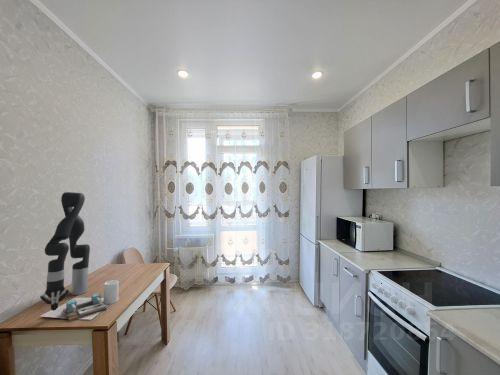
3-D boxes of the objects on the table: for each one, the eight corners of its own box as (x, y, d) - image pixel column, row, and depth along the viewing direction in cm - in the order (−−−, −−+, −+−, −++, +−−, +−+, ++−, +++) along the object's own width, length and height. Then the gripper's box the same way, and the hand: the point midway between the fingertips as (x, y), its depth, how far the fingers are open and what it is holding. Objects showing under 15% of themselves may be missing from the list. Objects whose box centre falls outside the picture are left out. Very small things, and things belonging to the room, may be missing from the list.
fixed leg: (91, 302, 145) (91, 294, 145) (98, 300, 148) (98, 292, 148) (96, 308, 139) (96, 299, 139) (103, 305, 142) (104, 297, 142)
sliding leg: (66, 310, 136) (66, 301, 136) (74, 307, 139) (74, 299, 139) (70, 316, 129) (70, 307, 129) (78, 313, 132) (79, 304, 132)
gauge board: (62, 311, 137) (63, 306, 137) (98, 301, 150) (98, 296, 151) (69, 321, 126) (69, 315, 126) (106, 309, 140) (106, 304, 140)
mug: (109, 296, 158) (109, 278, 159) (122, 295, 159) (123, 278, 160) (100, 304, 147) (101, 285, 147) (115, 303, 148) (116, 284, 148)
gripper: (68, 274, 138) (67, 303, 138) (38, 279, 128) (37, 311, 128) (71, 277, 133) (70, 308, 133) (40, 283, 123) (39, 316, 123)
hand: (54, 309), depth 130 cm, fingers closed
